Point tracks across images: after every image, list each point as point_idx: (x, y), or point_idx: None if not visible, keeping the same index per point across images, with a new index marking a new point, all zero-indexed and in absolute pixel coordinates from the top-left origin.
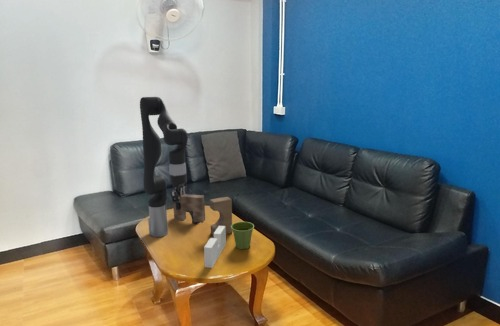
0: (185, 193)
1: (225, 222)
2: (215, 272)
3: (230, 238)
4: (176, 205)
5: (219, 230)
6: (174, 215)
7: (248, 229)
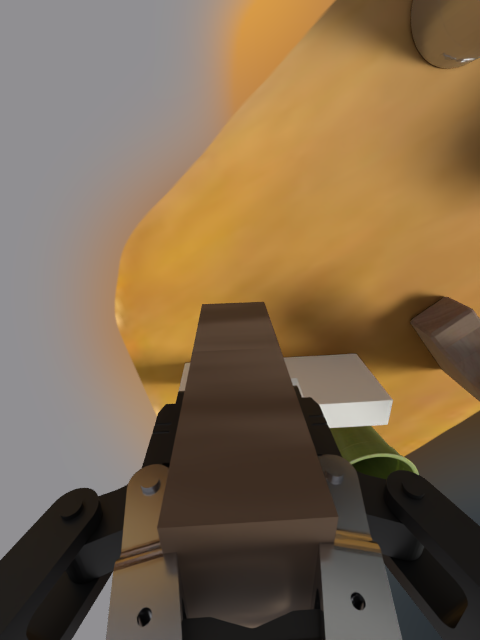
0: (413, 578)
1: (467, 383)
2: (167, 399)
3: (396, 376)
4: (150, 449)
5: (340, 416)
6: (199, 326)
7: (386, 474)
